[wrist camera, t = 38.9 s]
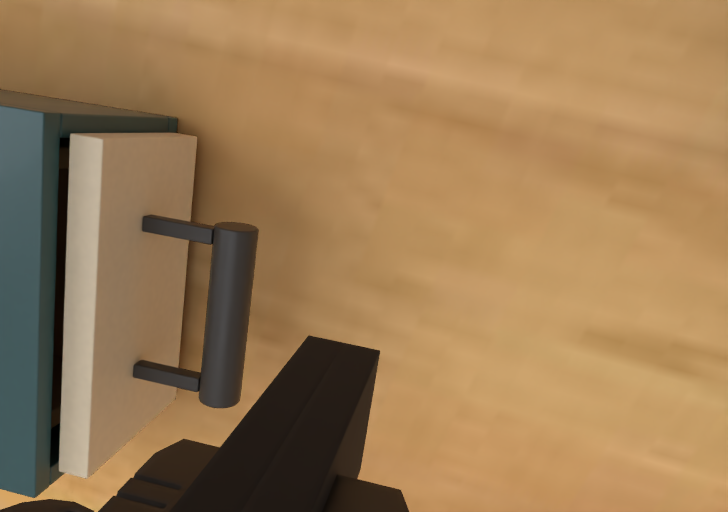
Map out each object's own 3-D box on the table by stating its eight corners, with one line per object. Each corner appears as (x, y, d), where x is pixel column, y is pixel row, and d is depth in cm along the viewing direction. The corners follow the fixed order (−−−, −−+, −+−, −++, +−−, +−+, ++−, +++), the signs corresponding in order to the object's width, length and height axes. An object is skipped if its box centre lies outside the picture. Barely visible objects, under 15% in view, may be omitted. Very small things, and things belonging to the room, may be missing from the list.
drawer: (296, 152, 25) (233, 160, 18) (264, 419, 28) (199, 508, 21) (-114, 85, 28) (-295, 71, 21) (-105, 333, 31) (-262, 389, 24)
